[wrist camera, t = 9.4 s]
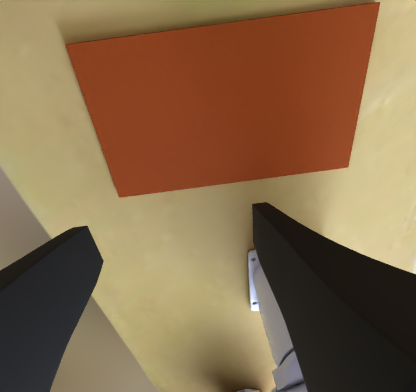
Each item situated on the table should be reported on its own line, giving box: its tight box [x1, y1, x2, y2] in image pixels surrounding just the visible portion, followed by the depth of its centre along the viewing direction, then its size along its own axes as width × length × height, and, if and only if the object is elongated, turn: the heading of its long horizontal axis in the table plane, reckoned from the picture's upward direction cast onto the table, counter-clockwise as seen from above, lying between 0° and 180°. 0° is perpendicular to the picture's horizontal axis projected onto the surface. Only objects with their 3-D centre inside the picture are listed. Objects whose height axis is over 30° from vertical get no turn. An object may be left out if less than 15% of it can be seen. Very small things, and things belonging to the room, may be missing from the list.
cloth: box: [66, 2, 380, 198], centre depth 16 cm, size 11×20×1 cm, turn 97°
